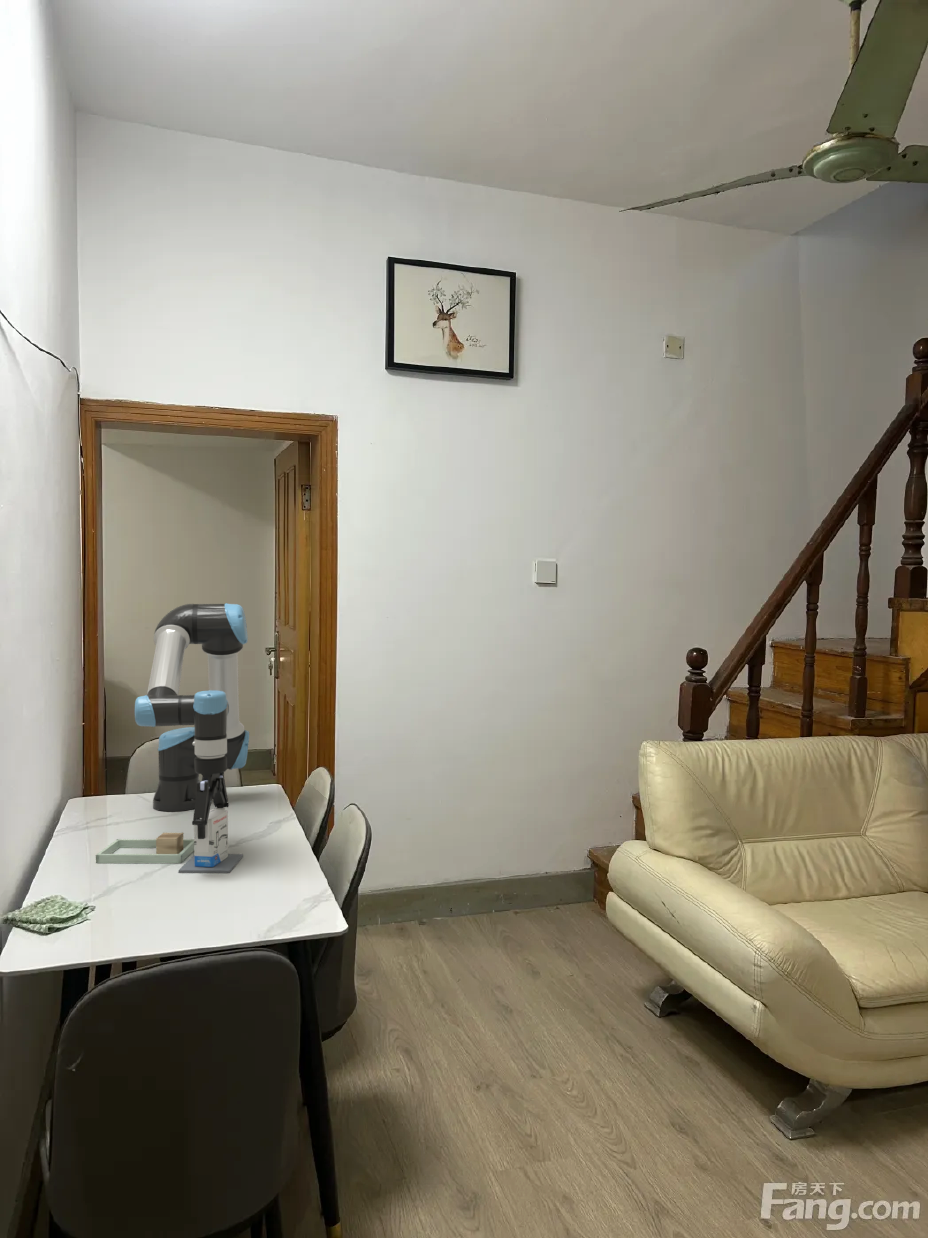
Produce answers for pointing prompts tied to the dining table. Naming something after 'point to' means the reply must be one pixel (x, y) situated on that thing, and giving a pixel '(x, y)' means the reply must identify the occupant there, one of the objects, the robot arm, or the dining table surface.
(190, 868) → the rubber mat
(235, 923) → the dining table surface
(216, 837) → the ink box
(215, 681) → the robot arm
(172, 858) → the parts tray
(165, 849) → the kraft cube
